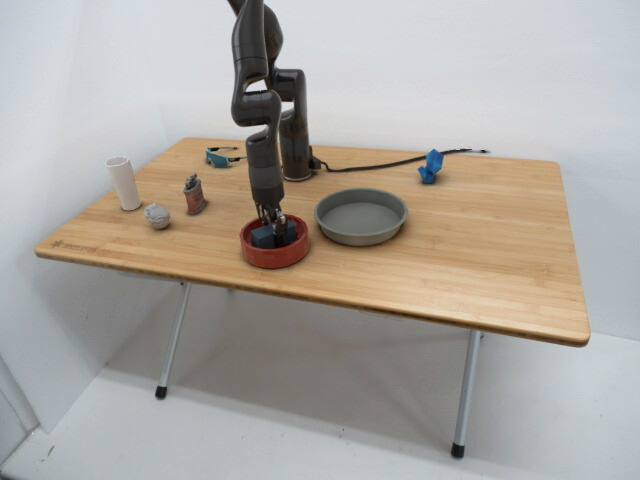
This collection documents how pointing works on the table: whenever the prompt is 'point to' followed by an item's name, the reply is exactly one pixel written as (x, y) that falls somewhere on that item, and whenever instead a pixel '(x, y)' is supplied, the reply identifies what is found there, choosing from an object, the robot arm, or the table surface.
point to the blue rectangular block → (271, 236)
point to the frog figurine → (157, 215)
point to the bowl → (278, 255)
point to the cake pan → (360, 215)
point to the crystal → (431, 166)
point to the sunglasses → (220, 157)
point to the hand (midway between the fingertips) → (274, 241)
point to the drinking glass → (123, 182)
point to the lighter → (194, 194)
